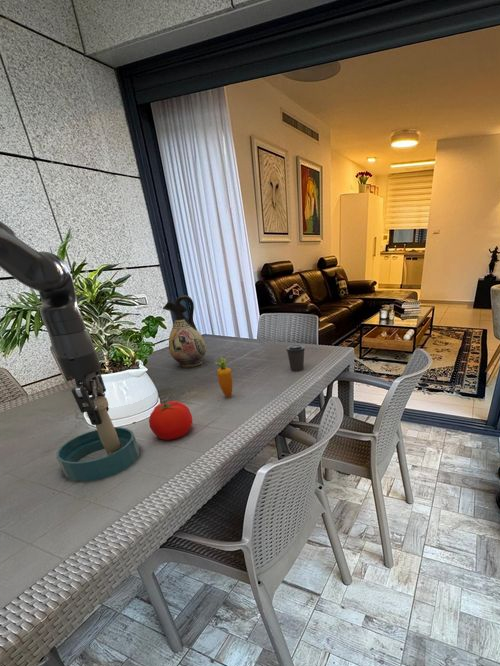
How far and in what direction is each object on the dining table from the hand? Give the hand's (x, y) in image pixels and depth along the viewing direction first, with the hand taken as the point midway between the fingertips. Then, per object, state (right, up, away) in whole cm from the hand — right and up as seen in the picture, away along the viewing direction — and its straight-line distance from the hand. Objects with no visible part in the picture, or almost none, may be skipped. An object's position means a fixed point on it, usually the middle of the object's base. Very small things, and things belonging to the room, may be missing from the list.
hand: (101, 417), depth 86 cm
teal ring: (-3, -12, +5) cm, 13 cm away
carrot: (+22, +8, +39) cm, 45 cm away
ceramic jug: (-4, +26, +74) cm, 78 cm away
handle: (0, -9, +5) cm, 11 cm away
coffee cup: (+44, +22, +63) cm, 80 cm away
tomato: (+11, -5, +17) cm, 21 cm away
